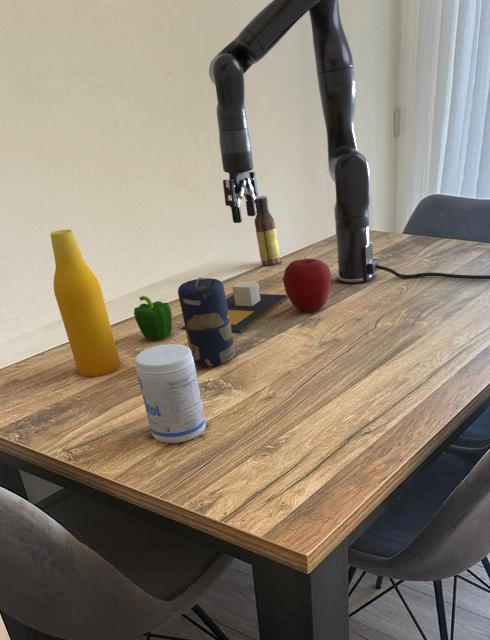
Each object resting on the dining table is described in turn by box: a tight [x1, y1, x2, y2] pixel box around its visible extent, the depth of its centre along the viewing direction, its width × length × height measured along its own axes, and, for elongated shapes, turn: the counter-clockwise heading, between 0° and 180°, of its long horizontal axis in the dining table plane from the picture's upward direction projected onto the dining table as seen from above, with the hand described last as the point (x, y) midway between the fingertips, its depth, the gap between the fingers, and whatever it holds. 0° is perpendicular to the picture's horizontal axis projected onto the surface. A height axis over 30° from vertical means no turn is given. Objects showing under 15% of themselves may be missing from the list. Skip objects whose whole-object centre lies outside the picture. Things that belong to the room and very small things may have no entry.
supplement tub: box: [134, 343, 207, 444], centre depth 115 cm, size 10×10×15 cm
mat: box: [182, 293, 288, 334], centre depth 174 cm, size 16×28×1 cm, turn 158°
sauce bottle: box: [254, 195, 281, 266], centre depth 208 cm, size 7×6×20 cm
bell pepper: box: [133, 295, 173, 341], centre depth 160 cm, size 8×8×10 cm
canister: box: [177, 277, 236, 367], centre depth 141 cm, size 10×10×18 cm
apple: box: [282, 256, 332, 313], centre depth 167 cm, size 12×12×13 cm
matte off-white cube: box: [232, 280, 261, 306], centre depth 177 cm, size 5×5×5 cm
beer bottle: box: [49, 229, 121, 377], centre depth 140 cm, size 9×9×29 cm
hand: (244, 219), depth 174 cm, fingers open, 8 cm apart
